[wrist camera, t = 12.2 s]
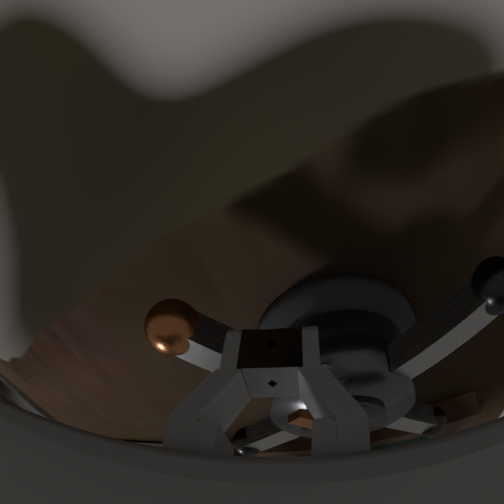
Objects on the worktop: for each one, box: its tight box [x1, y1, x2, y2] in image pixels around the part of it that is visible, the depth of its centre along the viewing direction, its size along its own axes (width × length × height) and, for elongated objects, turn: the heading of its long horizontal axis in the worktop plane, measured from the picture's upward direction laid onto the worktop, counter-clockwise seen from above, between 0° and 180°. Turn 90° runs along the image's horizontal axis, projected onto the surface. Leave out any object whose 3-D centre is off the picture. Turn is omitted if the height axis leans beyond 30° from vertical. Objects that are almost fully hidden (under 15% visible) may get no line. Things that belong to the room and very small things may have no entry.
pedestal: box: [258, 275, 417, 334], centre depth 16 cm, size 9×9×1 cm
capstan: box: [144, 256, 504, 456], centre depth 14 cm, size 20×20×5 cm
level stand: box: [251, 391, 481, 457], centre depth 24 cm, size 22×10×4 cm, turn 108°
